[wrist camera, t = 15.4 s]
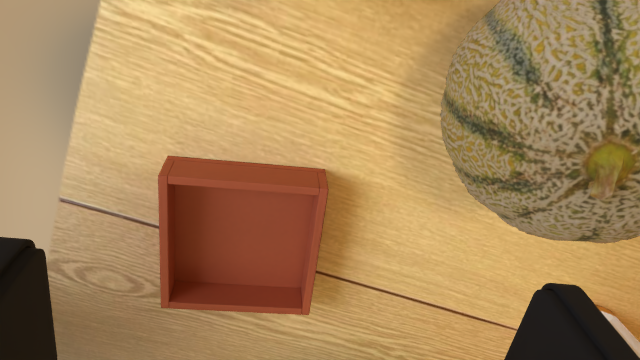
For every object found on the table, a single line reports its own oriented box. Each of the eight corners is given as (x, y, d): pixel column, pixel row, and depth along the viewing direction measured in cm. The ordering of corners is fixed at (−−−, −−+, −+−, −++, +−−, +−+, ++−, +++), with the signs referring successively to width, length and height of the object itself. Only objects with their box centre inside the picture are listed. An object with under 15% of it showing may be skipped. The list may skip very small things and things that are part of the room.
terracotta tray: (169, 281, 39) (160, 308, 37) (167, 155, 34) (157, 175, 32) (306, 289, 41) (308, 315, 38) (324, 168, 36) (328, 189, 33)
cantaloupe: (653, 97, 35) (881, 201, 22) (472, 204, 38) (576, 353, 25) (582, -98, 29) (839, -118, 16) (373, 49, 32) (440, 136, 19)
